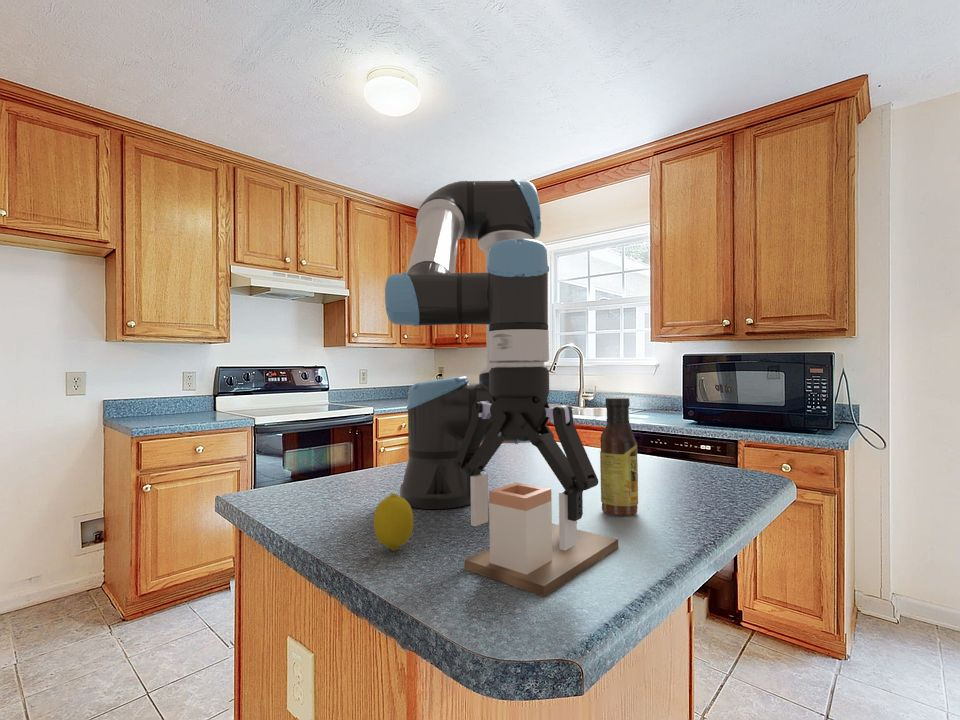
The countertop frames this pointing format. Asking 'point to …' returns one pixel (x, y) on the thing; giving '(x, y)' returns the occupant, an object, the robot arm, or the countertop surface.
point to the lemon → (393, 521)
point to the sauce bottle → (618, 461)
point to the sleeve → (520, 527)
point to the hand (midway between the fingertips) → (520, 534)
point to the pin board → (549, 563)
